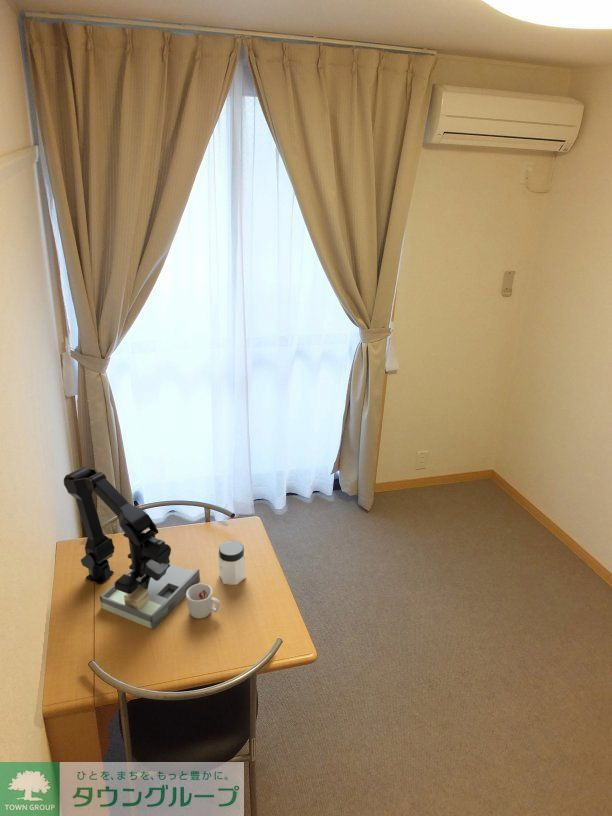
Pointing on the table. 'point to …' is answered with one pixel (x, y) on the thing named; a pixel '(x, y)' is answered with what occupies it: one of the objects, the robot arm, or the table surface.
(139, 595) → the maple block
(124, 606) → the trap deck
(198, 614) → the cup
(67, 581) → the table surface
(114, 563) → the table surface
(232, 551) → the jar
